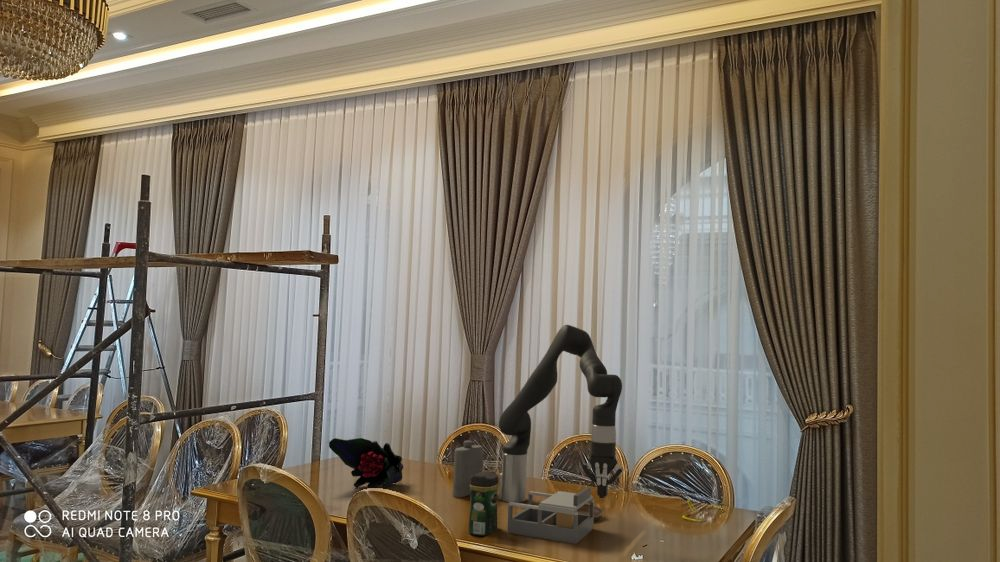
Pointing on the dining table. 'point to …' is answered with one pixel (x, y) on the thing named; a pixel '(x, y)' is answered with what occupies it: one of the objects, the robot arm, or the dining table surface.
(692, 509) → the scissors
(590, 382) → the robot arm
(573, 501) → the lid
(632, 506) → the dining table surface
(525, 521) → the case
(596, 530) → the dining table surface
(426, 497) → the dining table surface
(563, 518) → the module
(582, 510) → the plant saucer
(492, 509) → the coffee jar
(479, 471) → the flask
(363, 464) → the decorative plant
